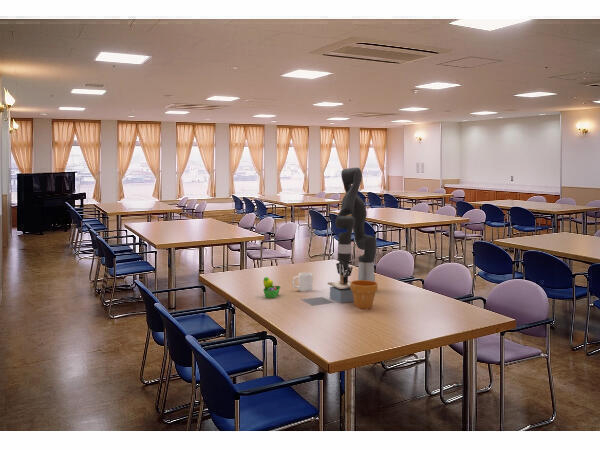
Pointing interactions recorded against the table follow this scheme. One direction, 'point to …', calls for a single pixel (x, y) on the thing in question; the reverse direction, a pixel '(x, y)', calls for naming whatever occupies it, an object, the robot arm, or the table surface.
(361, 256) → the robot arm
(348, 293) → the blue gray open box
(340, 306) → the table surface
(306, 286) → the cup
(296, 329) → the table surface
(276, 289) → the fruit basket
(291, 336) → the table surface
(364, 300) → the flower pot
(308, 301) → the mat
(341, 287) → the lid
